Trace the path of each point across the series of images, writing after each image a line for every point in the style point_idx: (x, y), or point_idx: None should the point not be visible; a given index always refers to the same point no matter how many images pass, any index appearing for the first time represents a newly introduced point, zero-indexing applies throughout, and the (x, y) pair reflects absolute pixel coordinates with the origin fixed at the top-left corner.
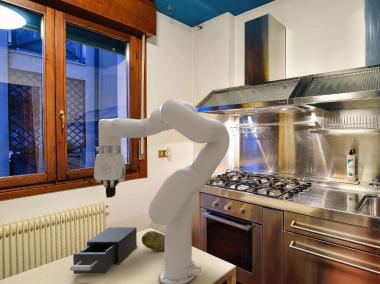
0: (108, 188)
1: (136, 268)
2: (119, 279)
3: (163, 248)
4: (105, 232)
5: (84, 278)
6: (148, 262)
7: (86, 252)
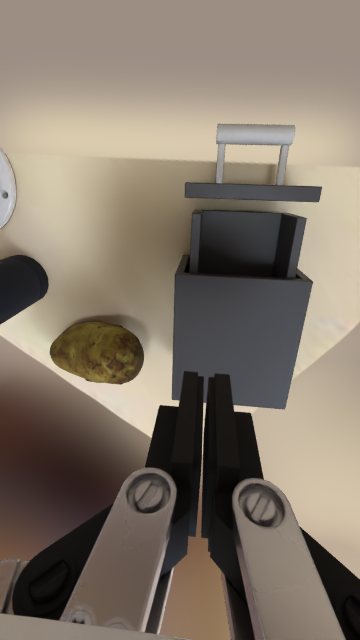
0: (208, 460)
1: (114, 227)
2: (134, 164)
3: (74, 325)
4: (276, 364)
5: (252, 175)
6: (94, 261)
7: (288, 240)
